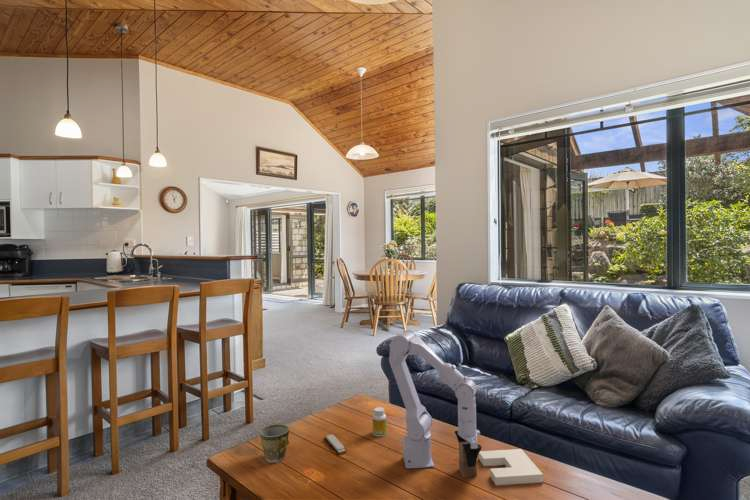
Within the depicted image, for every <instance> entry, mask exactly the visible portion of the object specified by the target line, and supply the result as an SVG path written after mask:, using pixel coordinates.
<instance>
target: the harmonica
mask: <svg viewBox="0 0 750 500" xmlns="http://www.w3.org/2000/svg"><path fill="white" fill-rule="evenodd" d="M324 437H325V439H326V440H327V441H326V440H325V439H324V440H325V441H326V443H330V445H331V446H330V445H329V446H330V447H331V449H333V451H334V450H335V451H336V452H335V451H334V452H335V454H336V455H338V456H341V454H342V455H345V454H347V450H346V449H345V446H344V445H343V444H342V443H341V442H340V440H339V439H337V437H336V436H335V435H334V434H328V435H325V436H324ZM324 437H323V438H324Z"/></svg>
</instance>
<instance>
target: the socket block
mask: <svg viewBox="0 0 750 500" xmlns="http://www.w3.org/2000/svg"><path fill="white" fill-rule="evenodd" d="M478 459H479V461H480V462H481V464H482V466H483V467H491V466H505V467H498V468H490V469H489V477H490V478H491V480H492V481H493V483H494V485H495V486H509V485H522V484H523V485H524V484H537V483H544V473H543V472H542V471H541V470H540V469H539V468H538V467H537V465H536V464H535V463H534V461H532V459H531V458H530V457H529V456H528V455H527V454H526V453H525V451H524V450H523V449H522V448H517V449H516V448H515V449H513V448H512V449H498V450H480V452H479V454H478Z"/></svg>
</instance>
